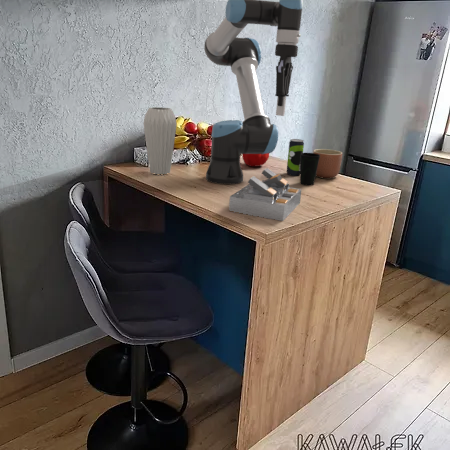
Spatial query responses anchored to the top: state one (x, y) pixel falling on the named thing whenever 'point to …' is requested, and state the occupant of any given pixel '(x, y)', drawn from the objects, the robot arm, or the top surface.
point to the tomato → (255, 159)
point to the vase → (160, 138)
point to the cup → (308, 168)
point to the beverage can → (294, 156)
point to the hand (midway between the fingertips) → (280, 115)
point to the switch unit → (266, 202)
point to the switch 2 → (262, 187)
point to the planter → (328, 163)
